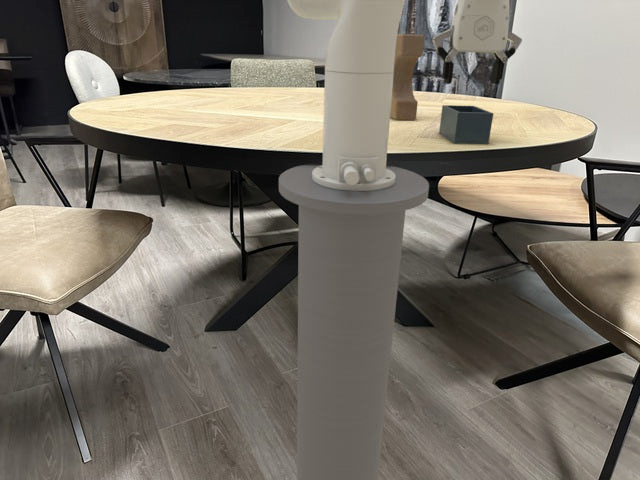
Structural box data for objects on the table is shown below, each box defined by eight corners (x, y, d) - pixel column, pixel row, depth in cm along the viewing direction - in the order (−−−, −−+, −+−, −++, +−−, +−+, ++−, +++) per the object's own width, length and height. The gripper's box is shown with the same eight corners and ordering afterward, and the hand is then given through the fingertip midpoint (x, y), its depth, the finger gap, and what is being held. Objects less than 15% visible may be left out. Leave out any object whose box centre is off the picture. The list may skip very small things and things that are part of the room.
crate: (488, 144, 94) (493, 113, 91) (453, 143, 93) (458, 112, 91) (470, 133, 104) (474, 105, 101) (438, 133, 103) (442, 105, 101)
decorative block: (416, 120, 119) (425, 34, 111) (394, 120, 118) (402, 33, 111) (402, 114, 129) (410, 34, 122) (382, 113, 129) (389, 34, 121)
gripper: (444, -16, 84) (433, 84, 91) (539, -14, 85) (521, 85, 91) (433, -12, 91) (424, 81, 98) (521, -11, 91) (505, 81, 98)
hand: (471, 83), depth 95 cm, fingers open, 9 cm apart
